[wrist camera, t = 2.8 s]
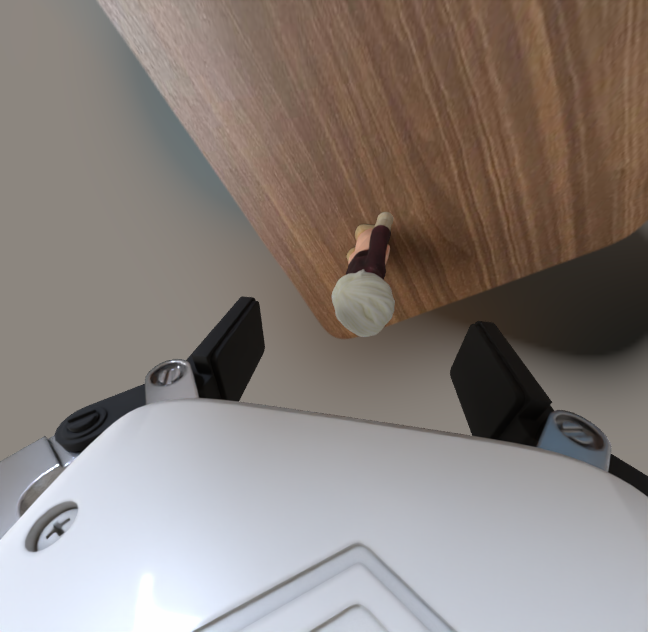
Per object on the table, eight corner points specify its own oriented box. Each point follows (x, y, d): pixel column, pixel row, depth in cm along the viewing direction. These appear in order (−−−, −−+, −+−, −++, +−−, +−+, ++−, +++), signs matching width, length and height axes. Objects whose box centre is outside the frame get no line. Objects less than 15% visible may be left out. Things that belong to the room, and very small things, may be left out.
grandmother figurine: (377, 283, 25) (382, 380, 14) (340, 276, 25) (317, 366, 15) (402, 201, 20) (434, 253, 10) (356, 192, 21) (340, 236, 10)
